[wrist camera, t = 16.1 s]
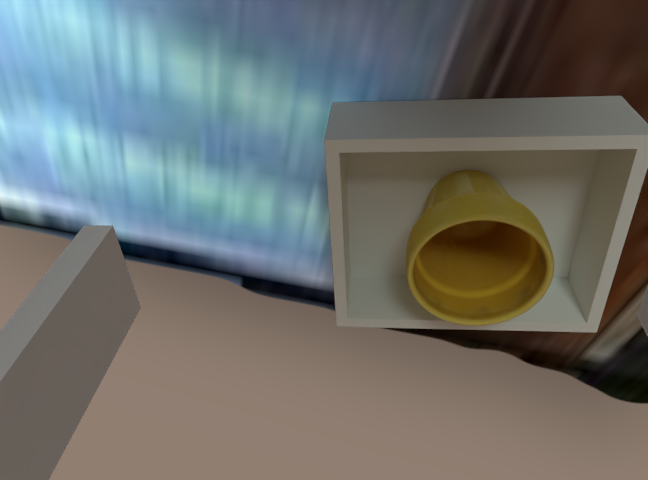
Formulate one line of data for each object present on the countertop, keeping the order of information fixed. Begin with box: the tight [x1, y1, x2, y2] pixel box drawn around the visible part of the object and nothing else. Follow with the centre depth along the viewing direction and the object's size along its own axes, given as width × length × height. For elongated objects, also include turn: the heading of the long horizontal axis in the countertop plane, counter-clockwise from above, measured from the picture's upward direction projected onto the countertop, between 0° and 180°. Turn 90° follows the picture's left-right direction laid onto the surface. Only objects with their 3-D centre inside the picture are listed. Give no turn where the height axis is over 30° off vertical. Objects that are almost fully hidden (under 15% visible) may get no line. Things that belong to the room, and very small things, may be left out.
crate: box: [324, 96, 648, 332], centre depth 45 cm, size 18×22×7 cm
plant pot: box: [406, 170, 554, 326], centre depth 44 cm, size 10×10×10 cm
